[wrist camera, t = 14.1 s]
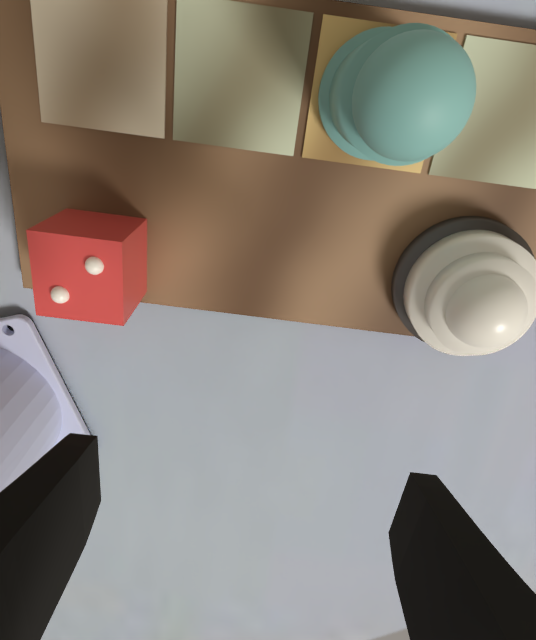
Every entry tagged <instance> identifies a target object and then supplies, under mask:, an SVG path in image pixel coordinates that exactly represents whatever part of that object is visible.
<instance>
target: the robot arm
mask: <svg viewBox="0 0 536 640" xmlns="http://www.w3.org/2000/svg"><path fill="white" fill-rule="evenodd" d="M7 325H9V326H11V327H12V328H13V329H14V331H11V330H9V328H8V327H7ZM100 502H101V492H100V475H99V457H98V440H97V436H93V435H90V433H89V431H88V429H87V427H86V425H85V423H84V421H83V419H82V417H81V415H80V413H79V411H78V409H77V407H76V405H75V403H74V401H73V399H72V397H71V396H70V394H69V392H68V390H67V388H66V386H65V384H64V382H63V380H62V378H61V376H60V374H59V372H58V370H57V368H56V366H55V364H54V362H53V360H52V358H51V356H50V354H49V352H48V351H47V349H46V347H45V345H44V343H43V341H42V339H41V337H40V335H39V333H38V331H37V329H36V327H35V325H34V323H33V322H32V320H31V319H30V318H29V317H27V316H25V315H22V314H17V315H12V316H8V317H3V318H0V640H40V639H41V637H42V635H43V633H44V631H45V629H46V627H47V625H48V623H49V621H50V619H51V616H52V614H53V612H54V610H55V608H56V606H57V604H58V602H59V600H60V598H61V596H62V594H63V591H64V589H65V587H66V585H67V583H68V581H69V579H70V577H71V575H72V573H73V571H74V568H75V566H76V564H77V562H78V560H79V558H80V556H81V554H82V551H83V549H84V547H85V545H86V542H87V539H88V537H89V534H90V531H91V528H92V525H93V523H94V520H95V517H96V514H97V511H98V508H99V505H100ZM389 539H390V547H391V555H392V562H393V569H394V576H395V581H396V585H397V589H398V593H399V597H400V601H401V605H402V609H403V613H404V617H405V621H406V625H407V629H408V633H409V637H410V640H536V594H535V593H534V592H533V591H532V590H531V589H530V587H529V586H528V585H527V584H526V583H525V582H524V581H523V580H522V579H521V577H520V576H519V575H518V574H517V573H516V572H515V571H514V569H513V568H512V567H511V566H510V565H509V564H508V562H507V561H506V560H505V559H504V558H503V557H502V555H501V554H500V553H499V552H498V551H497V549H496V548H495V547H494V546H493V545H492V544H491V542H490V541H489V540H488V539H487V537H486V536H485V535H484V534H483V533H482V531H481V530H480V529H479V528H478V526H477V525H476V524H475V523H474V521H473V520H472V519H471V518H470V517H469V515H468V514H467V513H466V512H465V510H464V509H463V508H462V507H461V505H460V504H459V503H458V501H457V500H456V499H455V498H454V496H453V495H452V494H451V493H450V491H449V490H448V489H447V488H446V486H445V485H444V484H443V483H442V482H441V480H440V479H439V478H438V477H437V475H429V474H421V473H412V472H410V475H409V477H408V480H407V483H406V486H405V489H404V491H403V494H402V497H401V500H400V503H399V505H398V508H397V511H396V514H395V516H394V519H393V522H392V525H391V528H390V530H389Z"/></svg>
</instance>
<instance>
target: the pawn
mask: <svg viewBox="0 0 536 640" xmlns="http://www.w3.org/2000/svg"><path fill="white" fill-rule="evenodd" d="M475 97H476V76H475V72H474V68H473V65H472V62H471V60H470V58H469V56H468V54H467V53H466V51H465V50H464V49H463V47H462V46H461V45H460V44H459V43H458V42H457V41H456V40H454V39H453V38H452V37H451V36H450V35H449V34H448V33H446V32H445V31H443V30H442V29H439V28H437V27H435V26H432V25H429V24H424V23H406V24H401V25H397V26H394V27H389V26H387V27H377V28H372V29H369V30H366V31H363V32H361V33H359V34H357V35H356V36H354V37H353V38H351V39H350V40H348V41H347V42H346V43H345V44H344V45H342V46H341V47H340V48H339V49H338V50H337V52H336V53H335V54H334V55H333V57H332V58H331V60H330V61H329V63H328V64H327V66H326V68H325V70H324V73H323V76H322V78H321V82H320V86H319V93H318V108H319V114H320V118H321V122H322V124H323V127H324V129H325V131H326V133H327V134H328V136H329V137H330V139H331V140H332V141H333V142H334V143H335V144H336V145H337V146H338V147H339V148H340V149H341V150H343V151H344V152H346V153H347V154H349V155H351V156H353V157H356V158H359V159H363V160H371V161H376V162H378V163H381V164H385V165H391V166H405V165H411V164H414V163H418V162H421V161H423V160H425V159H427V158H429V157H431V156H432V155H434V154H436V153H438V152H440V151H441V150H443V149H444V148H445V147H447V146H448V145H449V144H450V143H451V142H452V141H453V140H455V138H456V137H457V136H458V135H459V134H460V132H461V131H462V130H463V128H464V127H465V125H466V123H467V121H468V119H469V118H470V115H471V113H472V110H473V106H474V103H475Z"/></svg>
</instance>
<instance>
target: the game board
mask: <svg viewBox="0 0 536 640" xmlns="http://www.w3.org/2000/svg"><path fill="white" fill-rule="evenodd" d="M406 23H424V24H429V25H432V26H435V27H437V28H439V29H442V30H443V31H445V32H446V33H448V34H449V35H450V36H451V37H452V38H453V39H454V40H456V41H457V42H458V43H459V44H460V45H461V46H462V47H463V49H464V50H465V51H466V53H467V54H468V56H469V58H470V60H471V62H472V65H473V68H474V72H475V76H476V97H475V103H474V106H473V110H472V113H471V115H470V118H469V119H468V121H467V123H466V125H465V127H464V128H463V130H462V131H461V132H460V134H459V135H458V136H457V137H456V138H455V140H453V141H452V142H451V143H450V144H449V145H448V146H447V147H445V148H444V149H443V150H441V151H440V152H438V153H436V154H434V155H432V156H431V157H429V158H427V159H425V160H423V161H421V162H418V163H414V164H411V165H405V166H391V165H385V164H381V163H378V162H376V161H371V160H363V159H359V158H356V157H353V156H351V155H349V154H347V153H346V152H344V151H343V150H341V149H340V148H339V147H338V146H337V145H336V144H335V143H334V142H333V141H332V140H331V139H330V137H329V136H328V134H327V133H326V131H325V129H324V127H323V124H322V122H321V118H320V114H319V108H318V93H319V86H320V82H321V78H322V76H323V73H324V70H325V68H326V66H327V64H328V63H329V61H330V60H331V58H332V57H333V55H334V54H335V53H336V52H337V50H338V49H339V48H340V47H341V46H342V45H344V44H345V43H346V42H347V41H348V40H350V39H351V38H353V37H354V36H356V35H357V34H359V33H361V32H363V31H366V30H369V29H372V28H377V27H387V26H389V27H394V26H397V25H401V24H406ZM0 107H1V115H2V123H3V131H4V139H5V147H6V154H7V162H8V170H9V178H10V186H11V194H12V202H13V209H14V217H15V225H16V233H17V241H18V249H19V256H20V264H21V272H22V280H23V288H31V289H33V284H32V275H31V267H30V258H29V250H28V241H27V233H26V230H27V229H29V228H31V227H33V226H35V225H36V224H38V223H40V222H42V221H44V220H46V219H48V218H49V217H51V216H53V215H55V214H57V213H59V212H61V211H63V210H64V209H66V208H69V209H76V210H84V211H92V212H99V213H107V214H115V215H123V216H130V217H138V218H146V219H147V292H146V294H145V295H144V297H143V298H142V300H141V301H140V302H143V303H151V304H159V305H167V306H175V307H183V308H191V309H199V310H208V311H216V312H224V313H232V314H240V315H248V316H256V317H264V318H272V319H280V320H288V321H296V322H304V323H312V324H320V325H328V326H336V327H344V328H352V329H360V330H368V331H376V332H384V333H392V334H400V335H408V336H415V337H417V338H418V339H420V340H421V341H423V340H422V338H421V337H420V336H419V335H418V333H417V332H416V330H415V328H414V326H413V325H412V323H411V321H410V319H409V318H408V315H407V313H406V310H405V306H404V299H403V294H404V286H405V282H406V279H407V276H408V274H409V272H410V270H411V268H412V266H413V265H414V263H415V262H416V260H417V259H418V258H419V257H420V255H421V254H422V253H423V252H424V251H425V250H427V249H428V248H429V247H430V246H431V245H433V244H434V243H436V242H437V241H439V240H441V239H442V238H444V237H447V236H449V235H451V234H454V233H458V232H461V231H467V230H488V231H493V232H496V233H499V234H502V235H504V236H506V237H507V238H509V239H511V240H512V241H514V242H515V243H517V244H519V245H520V246H522V247H523V248H524V249H526V250H527V251H528V252H529V253H530V254H531V255H532V256H533V257H534V259H535V260H536V30H534V29H527V28H520V27H513V26H506V25H499V24H493V23H486V22H479V21H472V20H465V19H458V18H452V17H445V16H438V15H431V14H424V13H418V12H411V11H404V10H397V9H390V8H383V7H377V6H370V5H363V4H356V3H349V2H342V1H336V0H0Z"/></svg>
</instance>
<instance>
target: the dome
mask: <svg viewBox="0 0 536 640" xmlns="http://www.w3.org/2000/svg"><path fill="white" fill-rule="evenodd" d="M403 299H404V306H405V310H406V313H407V315H408V318H409V319H410V321H411V323H412V325H413V326H414V328H415V330H416V332H417V333H418V335H419V336H420V337H421V338H422V340H423V341H424V342H426V343H427V344H428V345H429V346H431V347H432V348H434V349H436V350H438V351H440V352H443V353H446V354H451V355H457V356H472V355H485V354H490V353H494V352H497V351H499V350H502V349H504V348H506V347H508V346H509V345H511V344H513V343H514V342H515V341H517V340H518V339H519V338H520V337H521V336H522V335H524V334H525V332H526V331H527V330H528V329H529V328H530V326H531V325H532V323H533V321H534V319H535V317H536V260H535V259H534V257H533V256H532V255H531V254H530V253H529V252H528V251H527V250H526V249H524V248H523V247H522V246H520V245H519V244H517V243H515V242H514V241H512V240H511V239H509V238H507V237H506V236H504V235H502V234H499V233H496V232H493V231H488V230H467V231H461V232H458V233H454V234H451V235H449V236H447V237H444V238H442V239H441V240H439V241H437V242H436V243H434V244H433V245H431V246H430V247H429V248H428V249H427V250H425V251H424V252H423V253H422V254H421V255H420V257H419V258H418V259H417V260H416V262H415V263H414V265H413V266H412V268H411V270H410V272H409V274H408V276H407V279H406V282H405V286H404V294H403Z"/></svg>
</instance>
